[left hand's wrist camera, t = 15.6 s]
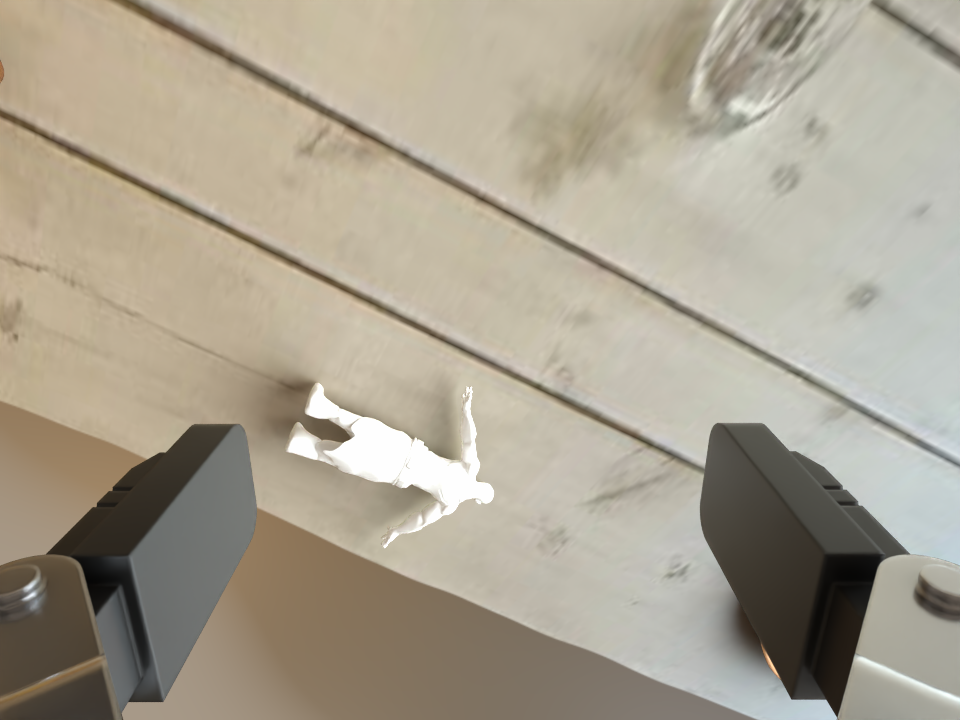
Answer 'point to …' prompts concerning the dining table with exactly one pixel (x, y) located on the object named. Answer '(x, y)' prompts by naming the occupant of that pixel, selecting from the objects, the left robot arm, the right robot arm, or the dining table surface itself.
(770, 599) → the left robot arm
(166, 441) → the dining table surface
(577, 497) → the dining table surface
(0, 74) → the toy
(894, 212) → the dining table surface
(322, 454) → the figurine
